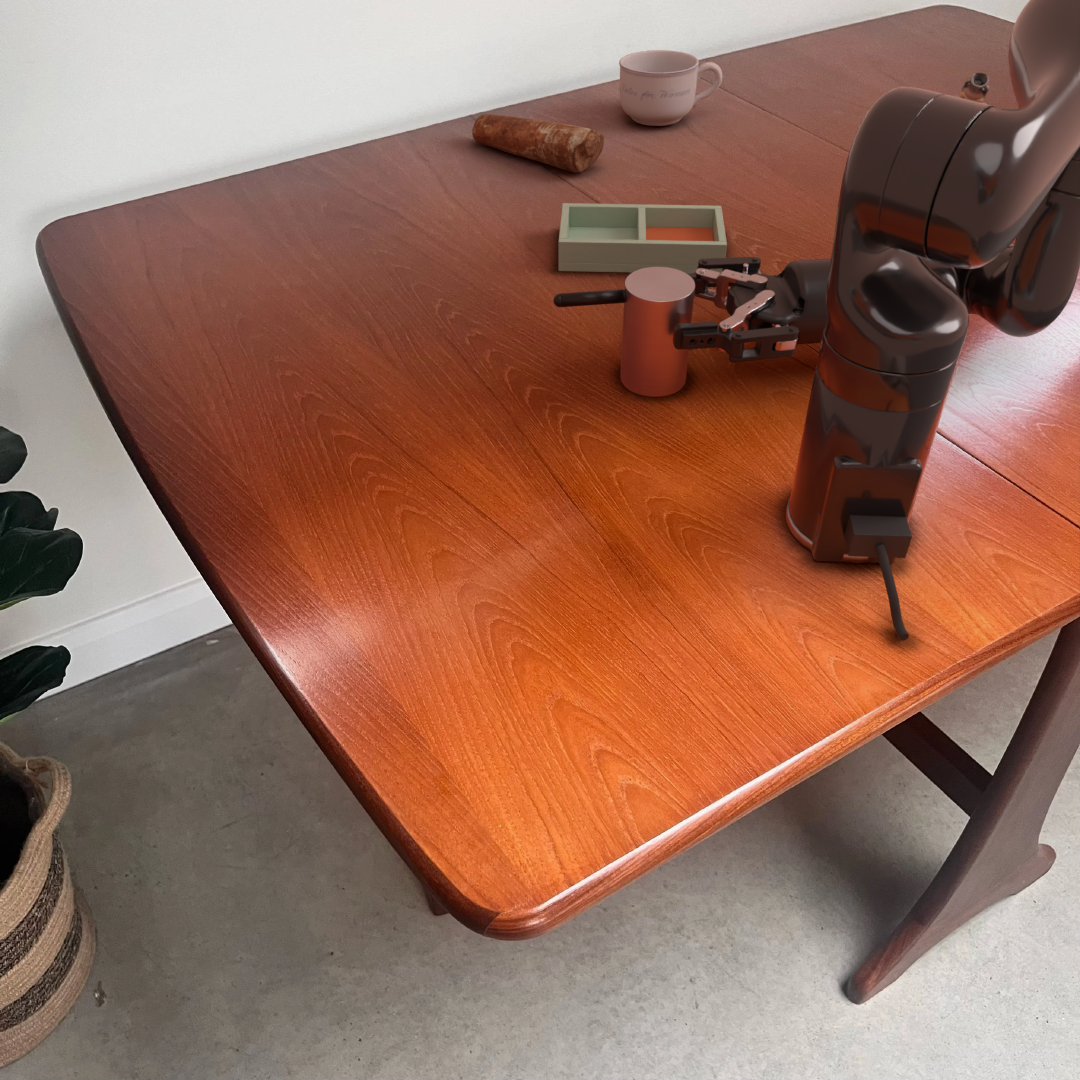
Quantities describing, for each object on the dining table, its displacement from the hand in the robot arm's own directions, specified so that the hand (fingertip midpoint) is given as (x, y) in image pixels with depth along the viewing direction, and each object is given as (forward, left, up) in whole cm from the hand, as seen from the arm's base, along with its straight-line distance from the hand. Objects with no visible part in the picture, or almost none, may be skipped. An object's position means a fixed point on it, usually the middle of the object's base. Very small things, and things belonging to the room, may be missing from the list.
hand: (664, 312), depth 94 cm
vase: (+67, -44, -7) cm, 80 cm away
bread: (+50, +16, -7) cm, 53 cm away
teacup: (+64, -2, -7) cm, 64 cm away
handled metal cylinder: (-1, +4, -7) cm, 8 cm away
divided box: (+25, +2, -7) cm, 26 cm away
